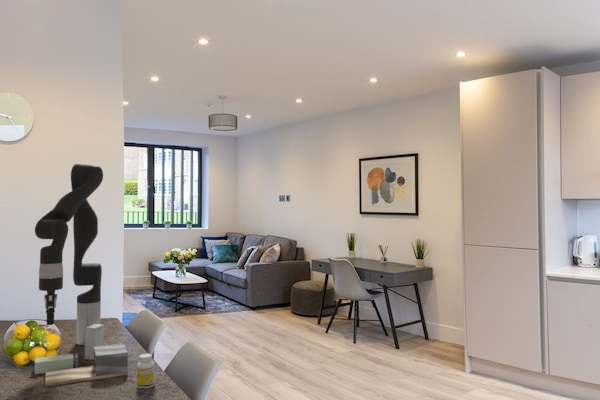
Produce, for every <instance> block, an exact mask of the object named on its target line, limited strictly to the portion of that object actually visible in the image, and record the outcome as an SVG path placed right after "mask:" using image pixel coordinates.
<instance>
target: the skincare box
mask: <svg viewBox="0 0 600 400" xmlns="http://www.w3.org/2000/svg"><path fill="white" fill-rule="evenodd" d="M104 338H105V324H102V323H101V324H94V325H90V326H88V327H86V328H85V345H84V360H89V361H90V360H91V361H94V346H103V345H105V344H104V341H105V339H104Z"/></svg>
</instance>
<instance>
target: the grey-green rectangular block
mask: <svg viewBox="0 0 600 400" xmlns="http://www.w3.org/2000/svg"><path fill="white" fill-rule="evenodd" d="M78 367H79V353H78V352H75V353H67V354H59V355H52V356H42V357H36V358H35V359H34V375H40V374H46V372H48V371H56V370H63V369H71V368H78Z"/></svg>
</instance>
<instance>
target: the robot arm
mask: <svg viewBox="0 0 600 400" xmlns="http://www.w3.org/2000/svg"><path fill="white" fill-rule="evenodd" d="M103 179H104V170H103V168H102V167H100V166H99V165H96V164H84V163H76V164H73V166H72V168H71V171H70V183H71V184H70V185H71V191H70V192H68V193H65V195H63V196H61V198H60V199H59V200H58V201H57V203H56V204H55V206H54V207H53V209H51V210H50V211H49V212H47V213H46V214H44V215H43V216H42V217H41V218H40V219H39V220H38V221H37V222H36V224H35V227H34V235H35V236H36V237H37V238H39V240H52V242H51V243H50V245H46V246H43V247H41V249H40V250H39V251H40V253H39V267H38V268H39V269H38V290H39V291H41V292H45V291H46V294H44V295H43V296H44V297H43V298H44V299H43V300H44V309H45V314H46V326H51V325H52V326H53V325H54V324H55V312H56V310H55V309H56V308H57V300H58V294H57V293H56V291H58V290H62V289H63V287H64V279H63V278H64V267H63V251H64V248H65V245H66V244H65V243H66V241H67V238H68V233H69V226H68V223H69V222H70V221H71V220H72V218H73V222H72V225H73V227H72V229H73V245H74V246H73V247H74V250H73V253H74V254H73V272H72V273H73V274H72V276H73V277H72V279H73V283H74V285H75V286H77V287H78V286H79V287H81V286H82V287H83V286H85V287H86V286H87V287H88V286H92V288H91V289H88V290H87V291H84V292H83V293H80V294H78V295H77V297H76V345H78V346H85V328H86V327H88V326H90V325H94V324H102V323H101V316H102V315H101V314H102V313H101V311H102V310H101V309H102V305H101V302H102V301H101V300H102V299H101V298H102V297H101V294H102V293H101V291H102V288H101V287H102V272H103V271H102V265H101V263H97V262H93V263H92V262H91V263H83V259H84V257H85V254H86V253H87V251H88V249H89V248H90V246H91V245H92V244H93V242H94V241H95V239H96V238H97V236H98V231H99V229H98V228H99V221H98V216H97V214H96V212H95V210H94V208H93V207H92V206H91V204H90V202H89V201H88V198H89V197H90V196H91V195H92V194H93V193H94V192H95V191H96V190H97V189H98V188H99V187H100V185H101V184H102V182H103Z"/></svg>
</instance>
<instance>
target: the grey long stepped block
mask: <svg viewBox="0 0 600 400" xmlns="http://www.w3.org/2000/svg"><path fill="white" fill-rule="evenodd" d="M128 355H129V352H128V349H127V347H126V345H125V343H124V342H122V343H113V344H104V345H103V346H94V360H93V365H88V366H87V365H85V366H80V367H79V366H78V368H75V367H73V368H71V369H63V370H56V371H48V372H46V373H45V379H44V388H46V387H53V386H59V385H66V384H72V383H73V384H74V383H80V382H81V383H82V382H87V381H93V380H94V381H95V380H102V379H106V378H107V379H108V378H115V377H122V376H128V375H129V374H128V370H129V369H128V368H129V367H128V366H129V362H128V360H129V358H128V357H129V356H128Z"/></svg>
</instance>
